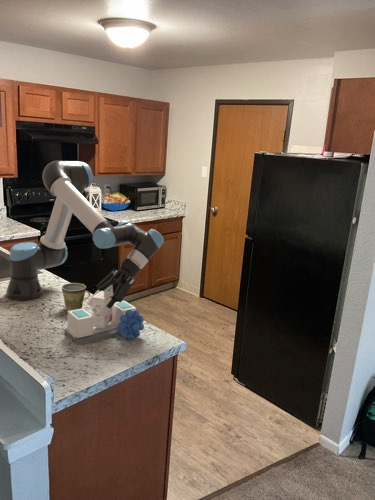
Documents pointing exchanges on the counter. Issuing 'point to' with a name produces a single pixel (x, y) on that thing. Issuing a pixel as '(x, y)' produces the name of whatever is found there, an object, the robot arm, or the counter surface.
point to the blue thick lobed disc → (131, 324)
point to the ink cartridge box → (98, 303)
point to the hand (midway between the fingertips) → (94, 309)
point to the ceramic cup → (74, 295)
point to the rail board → (83, 324)
